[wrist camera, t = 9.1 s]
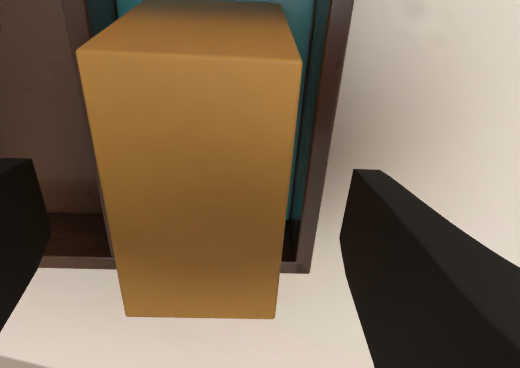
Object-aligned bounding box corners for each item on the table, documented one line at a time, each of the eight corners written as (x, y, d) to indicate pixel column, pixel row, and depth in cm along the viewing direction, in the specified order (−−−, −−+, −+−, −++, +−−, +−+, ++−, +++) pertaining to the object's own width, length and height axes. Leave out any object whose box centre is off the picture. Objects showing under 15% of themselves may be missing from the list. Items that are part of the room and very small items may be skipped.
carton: (164, 191, 16) (124, 318, 11) (147, -4, 12) (73, 48, 7) (267, 195, 16) (275, 320, 11) (281, 3, 12) (303, 60, 7)
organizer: (-28, 214, 17) (-76, 265, 14) (-156, -96, 11) (-273, -101, 9) (301, 224, 18) (309, 274, 15) (340, -65, 12) (365, -62, 9)
